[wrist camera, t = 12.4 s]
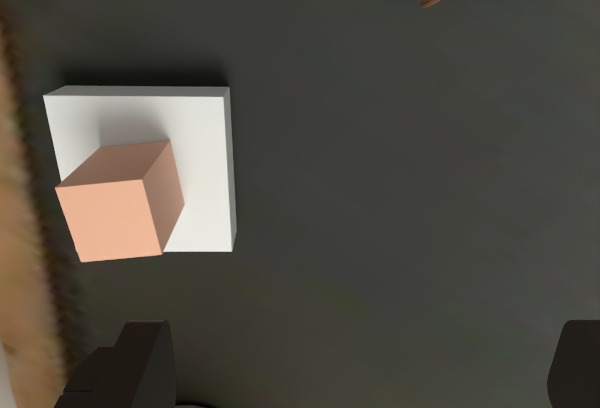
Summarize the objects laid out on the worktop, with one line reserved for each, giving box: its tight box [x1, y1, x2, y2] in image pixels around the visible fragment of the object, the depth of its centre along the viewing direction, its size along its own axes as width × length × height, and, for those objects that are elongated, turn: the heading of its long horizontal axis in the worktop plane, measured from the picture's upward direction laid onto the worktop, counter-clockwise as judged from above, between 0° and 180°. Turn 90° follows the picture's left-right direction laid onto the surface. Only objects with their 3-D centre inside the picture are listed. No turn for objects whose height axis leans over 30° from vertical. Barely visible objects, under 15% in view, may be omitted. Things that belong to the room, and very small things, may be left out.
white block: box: [43, 86, 237, 251], centre depth 36 cm, size 12×12×4 cm
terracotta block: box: [55, 140, 185, 262], centre depth 31 cm, size 5×5×7 cm
